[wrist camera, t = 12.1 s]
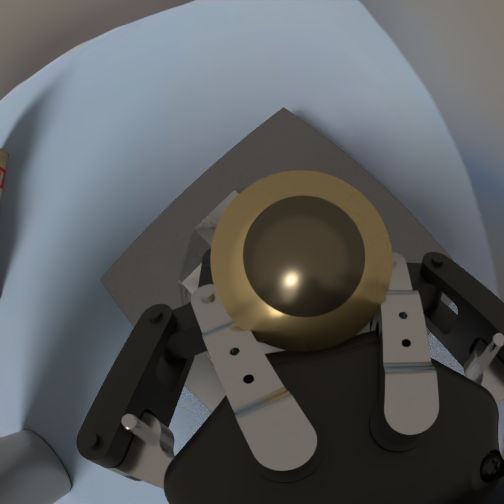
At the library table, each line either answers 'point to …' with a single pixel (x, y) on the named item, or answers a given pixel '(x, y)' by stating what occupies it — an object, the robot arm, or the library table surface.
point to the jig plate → (211, 210)
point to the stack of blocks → (2, 168)
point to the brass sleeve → (301, 260)
